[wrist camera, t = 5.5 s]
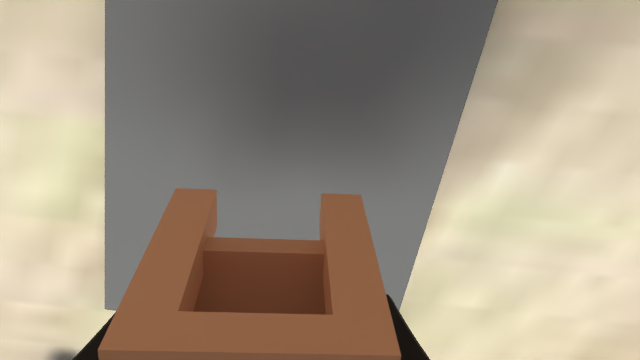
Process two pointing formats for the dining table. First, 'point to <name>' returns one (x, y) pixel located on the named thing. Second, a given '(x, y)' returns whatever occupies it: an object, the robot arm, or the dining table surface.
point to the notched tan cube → (254, 291)
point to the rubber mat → (283, 116)
